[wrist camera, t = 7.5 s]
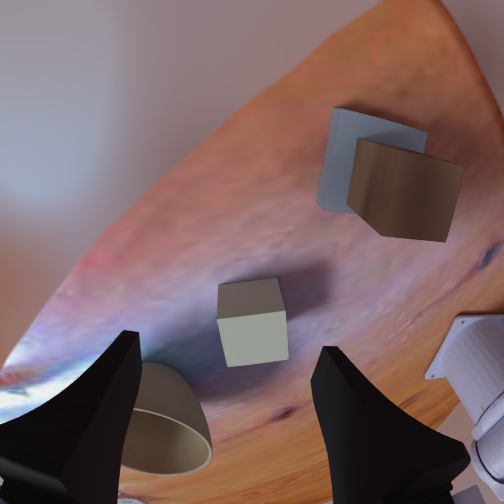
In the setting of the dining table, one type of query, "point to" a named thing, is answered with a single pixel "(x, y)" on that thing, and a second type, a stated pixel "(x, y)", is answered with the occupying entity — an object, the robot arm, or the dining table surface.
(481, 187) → the dining table surface
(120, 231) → the dining table surface
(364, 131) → the slate slab
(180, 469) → the flower pot
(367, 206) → the walnut block
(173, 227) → the dining table surface
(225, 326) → the sage block
